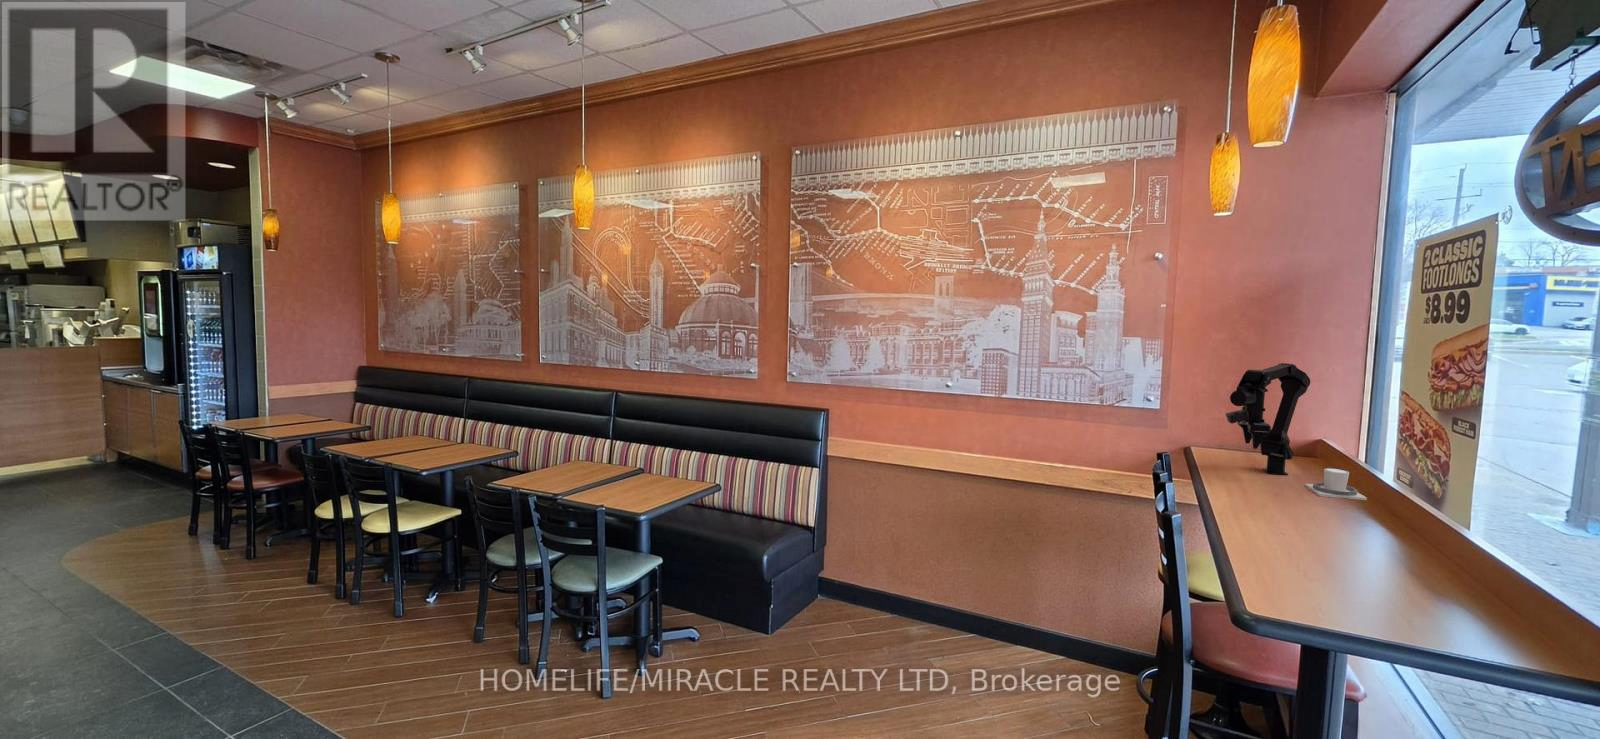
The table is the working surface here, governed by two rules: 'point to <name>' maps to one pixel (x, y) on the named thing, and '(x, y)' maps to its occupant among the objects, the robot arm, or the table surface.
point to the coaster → (1335, 492)
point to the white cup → (1335, 479)
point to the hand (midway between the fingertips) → (1251, 446)
